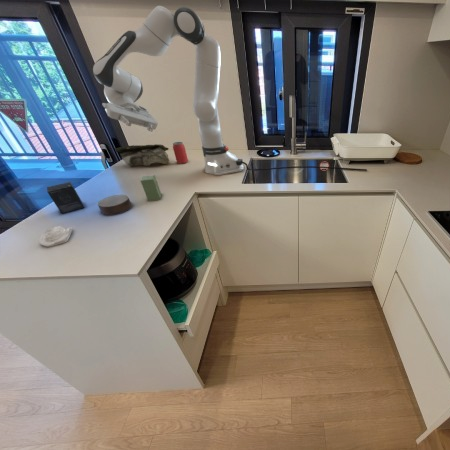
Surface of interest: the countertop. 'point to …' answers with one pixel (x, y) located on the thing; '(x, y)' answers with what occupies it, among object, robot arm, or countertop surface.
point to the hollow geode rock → (143, 154)
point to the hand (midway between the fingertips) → (140, 127)
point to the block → (151, 187)
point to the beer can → (180, 152)
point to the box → (65, 197)
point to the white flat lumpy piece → (55, 236)
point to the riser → (114, 204)
